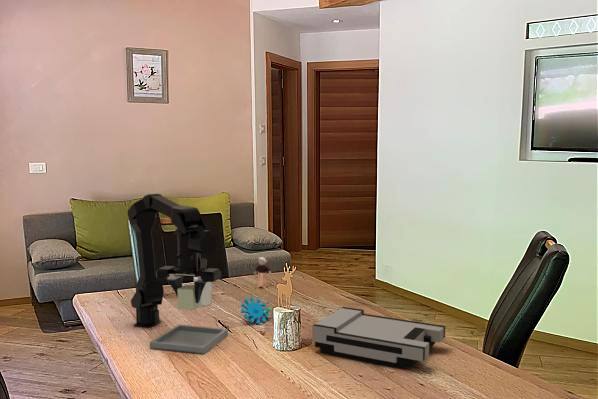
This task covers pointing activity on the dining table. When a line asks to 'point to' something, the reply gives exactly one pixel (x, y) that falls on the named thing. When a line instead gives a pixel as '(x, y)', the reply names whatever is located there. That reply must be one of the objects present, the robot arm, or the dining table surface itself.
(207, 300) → the drinking glass
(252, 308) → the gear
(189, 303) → the sage block
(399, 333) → the game console
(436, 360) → the dining table surface
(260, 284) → the grandmother figurine
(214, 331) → the tray
